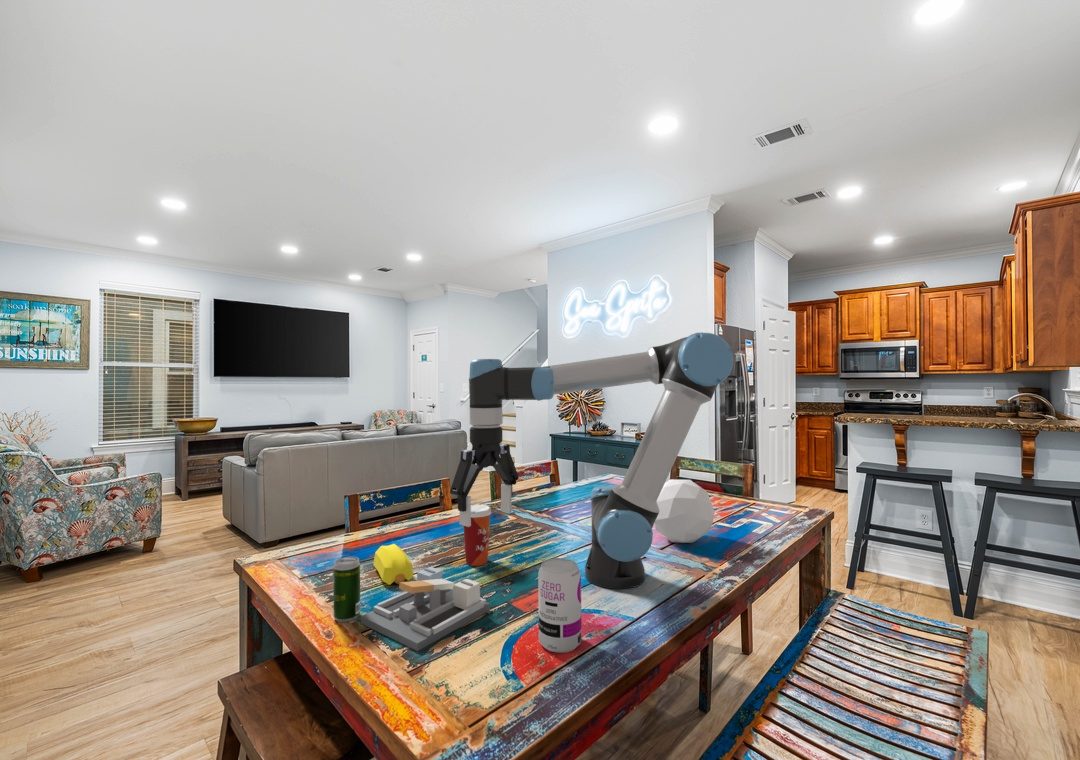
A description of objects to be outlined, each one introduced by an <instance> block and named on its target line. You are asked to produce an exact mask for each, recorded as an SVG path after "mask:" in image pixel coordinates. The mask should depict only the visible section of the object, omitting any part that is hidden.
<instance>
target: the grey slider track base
mask: <svg viewBox="0 0 1080 760" xmlns="http://www.w3.org/2000/svg"><path fill="white" fill-rule="evenodd" d="M490 604H491V603H490V602H487V599H485V598H482V597H480V602H479V603H477V604H475V605H473V606H471V607H469V608H468V609H466V610H464V609H461V608H459V607H456V606H454V589H445V590H439V589H438V590H436V591H434V592H431V593H430V594H428V595H425V594H424V592H419V593H409V592H406V591H404V592H401V593H400V594H399V593H398V594H396V595H394V596H392V597H390V598H387V599H386V600H383V601H380V602H378V603H377V604H376V605H374V606H373V608H372V611H370V612H367V613H364V614H362V615H360V624H361V625H363V626H365V627H367V628H368V629H369V628H370V629H371V630H373V631H375V632H378V633H380V634H381V635H384V636H386V637H388V638H389V639H392V640H393V641H396V642H398V643H400V644H402V645H404V646H406V647H408V648H410V649H412V650H413V651H416V652H420V651H421V650H422V649H424V648H426V647H428V646H429V645H431V644H433V643H434V642H436V641H439V640H440V639H441V638H443V637H445V636H447V635H449V634H450V633H451V634H452V632H454V631H456V630H457V629H459V628H461V627H462V626H464V625H467V624H468V623H469V622H472V621H474V620H475V619H477V618H478V617H480V616H482V615H483V614H485V613H487V612H490V610H491V609H490V608H491V607H490V606H491V605H490Z"/></svg>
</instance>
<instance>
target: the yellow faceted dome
mask: <svg viewBox="0 0 1080 760" xmlns="http://www.w3.org/2000/svg"><path fill="white" fill-rule="evenodd" d="M372 565H373V566H374V567H375V569H376V570H377V572H378V574H379V576H380V579H381V580H382V582H384V583H385V584H386V585H387V586H391V584H393V583H395V584H397V585H399V584H400V582H410V580H411V579H412V578H413V576H414V569H413V564H412V561H411V560H410V558H409V556H408V555H407V553H406V552H405V551H404V550H403V549H402V548H401V547H399V546H398V545H397V544H395V543H392V544H389V545H381V546H379V548H378V549H377V550H376V551H375V553H374V559H373V563H372Z"/></svg>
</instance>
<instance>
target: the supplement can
mask: <svg viewBox="0 0 1080 760" xmlns="http://www.w3.org/2000/svg"><path fill="white" fill-rule="evenodd" d="M537 574H538V580H537V581H538V582H537V583H538V588H537V589H538V594H537V595H538V597H537V598H538V642H539V643H540V645H541V646H543V648H544V649H545V650H547V651H549V652H553V653H556V654H557V653H559V654H562V653H563V654H564V653H570V652H572V651H574V650H575V649H576V648H578V646H579V645H581V642H582V573H581V570H580V567H579V566H578V563H577V562H576V561H574V560H572V559H569V558H561V557H560V558H557V557H555V558H550V559H545V560H544V561H542V562H541V566H540V568H539V570H538V573H537Z"/></svg>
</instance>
